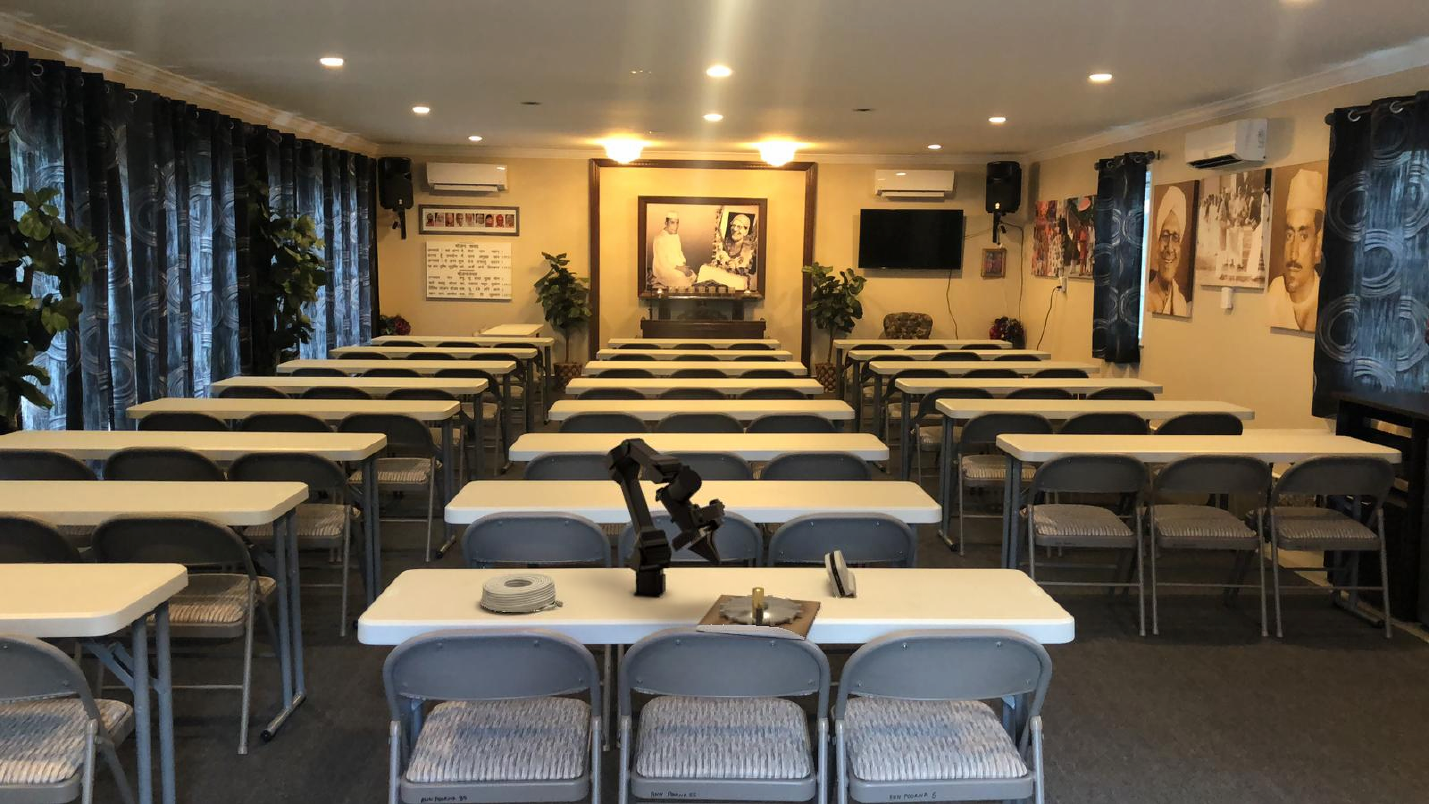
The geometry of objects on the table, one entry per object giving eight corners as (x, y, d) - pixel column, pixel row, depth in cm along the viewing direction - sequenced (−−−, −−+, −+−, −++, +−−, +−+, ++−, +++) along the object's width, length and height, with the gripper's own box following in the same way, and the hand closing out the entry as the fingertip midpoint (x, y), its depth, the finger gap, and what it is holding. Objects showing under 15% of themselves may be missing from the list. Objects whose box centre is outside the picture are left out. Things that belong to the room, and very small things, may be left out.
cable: (567, 609, 250) (566, 584, 249) (495, 621, 241) (494, 595, 240) (540, 589, 265) (539, 566, 264) (471, 600, 256) (470, 576, 255)
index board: (695, 631, 233) (695, 604, 233) (721, 598, 256) (721, 573, 256) (804, 640, 228) (804, 612, 227) (820, 605, 251) (820, 580, 250)
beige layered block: (856, 598, 256) (843, 560, 255) (838, 604, 257) (824, 566, 256) (855, 578, 273) (842, 542, 272) (837, 584, 273) (824, 547, 273)
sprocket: (729, 629, 230) (729, 595, 229) (709, 602, 249) (709, 570, 248) (814, 623, 235) (814, 589, 234) (788, 596, 253) (788, 565, 252)
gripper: (690, 494, 234) (731, 552, 231) (720, 483, 251) (759, 537, 249) (654, 522, 238) (693, 580, 235) (686, 509, 255) (723, 563, 252)
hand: (719, 564), depth 243 cm, fingers closed
